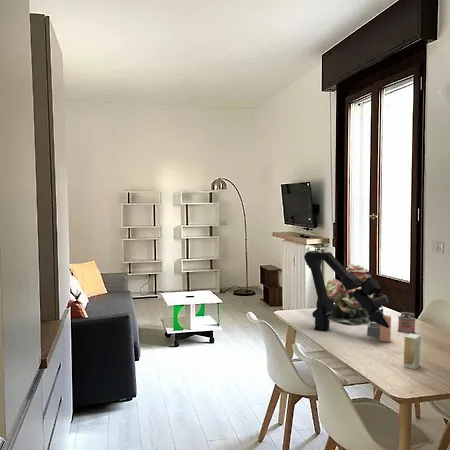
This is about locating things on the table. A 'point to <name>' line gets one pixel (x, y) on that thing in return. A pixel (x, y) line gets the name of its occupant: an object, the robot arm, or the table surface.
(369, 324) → the well
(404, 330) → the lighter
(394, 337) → the table surface
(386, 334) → the terracotta block
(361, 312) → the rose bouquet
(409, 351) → the skincare box
